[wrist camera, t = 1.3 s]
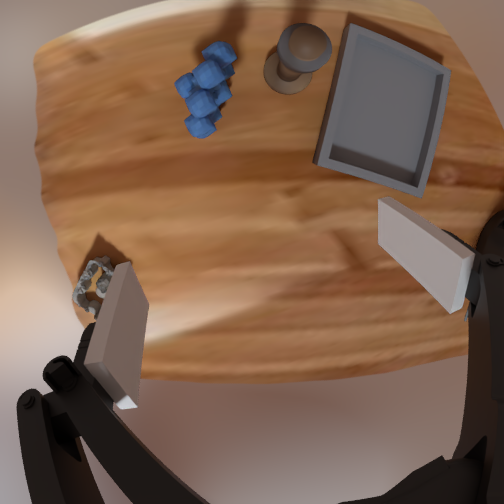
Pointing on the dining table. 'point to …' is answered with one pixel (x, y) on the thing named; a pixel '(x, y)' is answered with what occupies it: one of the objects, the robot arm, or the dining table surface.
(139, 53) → the dining table surface
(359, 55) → the holder tray
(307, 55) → the post
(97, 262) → the egg carton
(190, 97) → the grapes
